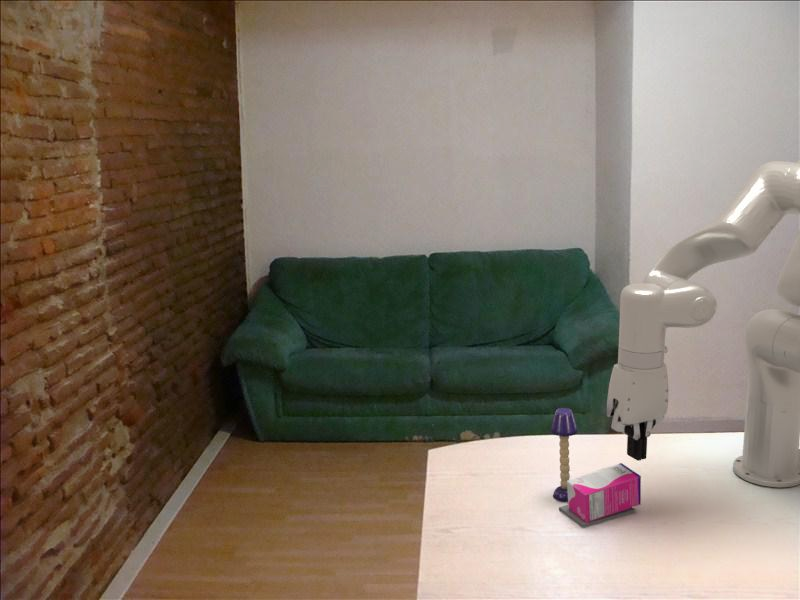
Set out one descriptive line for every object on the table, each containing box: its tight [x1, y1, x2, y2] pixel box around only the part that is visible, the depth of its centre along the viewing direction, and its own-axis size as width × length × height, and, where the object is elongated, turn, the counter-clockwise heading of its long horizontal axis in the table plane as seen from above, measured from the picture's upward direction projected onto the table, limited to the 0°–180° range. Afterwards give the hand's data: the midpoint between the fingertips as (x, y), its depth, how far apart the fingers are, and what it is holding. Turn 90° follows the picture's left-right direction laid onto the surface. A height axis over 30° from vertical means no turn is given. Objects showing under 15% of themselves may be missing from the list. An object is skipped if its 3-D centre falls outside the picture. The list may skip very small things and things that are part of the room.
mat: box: [558, 504, 636, 529], centre depth 153 cm, size 11×7×1 cm, turn 115°
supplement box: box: [567, 462, 642, 523], centre depth 151 cm, size 6×6×12 cm
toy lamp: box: [550, 407, 578, 503], centre depth 156 cm, size 5×5×17 cm
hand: (636, 456), depth 152 cm, fingers closed
